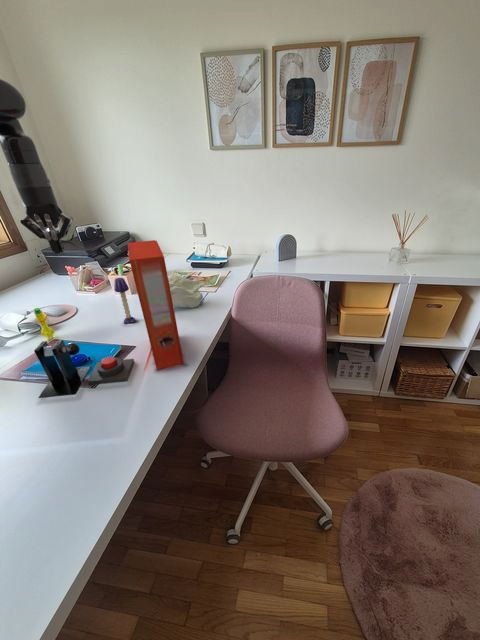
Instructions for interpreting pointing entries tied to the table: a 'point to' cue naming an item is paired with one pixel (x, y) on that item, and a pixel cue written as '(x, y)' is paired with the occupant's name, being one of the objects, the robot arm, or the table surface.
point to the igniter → (108, 362)
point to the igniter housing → (111, 372)
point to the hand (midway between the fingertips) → (59, 253)
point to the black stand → (60, 371)
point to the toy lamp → (124, 299)
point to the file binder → (156, 302)
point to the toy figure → (43, 323)
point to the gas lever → (71, 347)
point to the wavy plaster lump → (185, 291)
